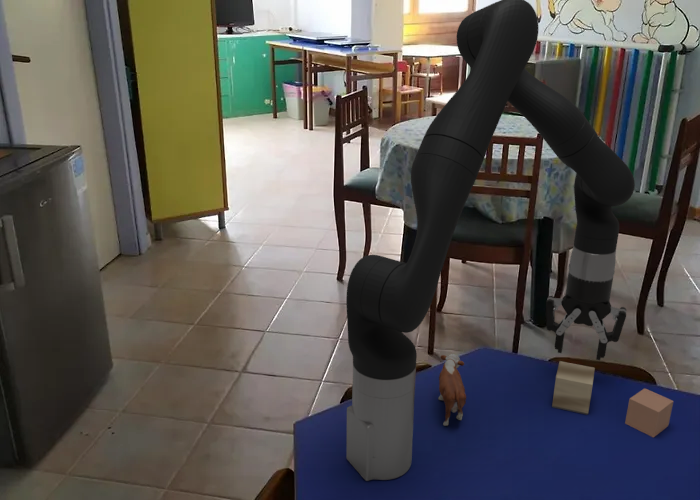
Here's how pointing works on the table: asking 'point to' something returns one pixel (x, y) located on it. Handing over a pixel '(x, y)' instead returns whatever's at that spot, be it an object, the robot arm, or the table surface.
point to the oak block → (573, 387)
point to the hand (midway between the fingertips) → (578, 354)
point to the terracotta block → (649, 412)
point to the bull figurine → (452, 387)
